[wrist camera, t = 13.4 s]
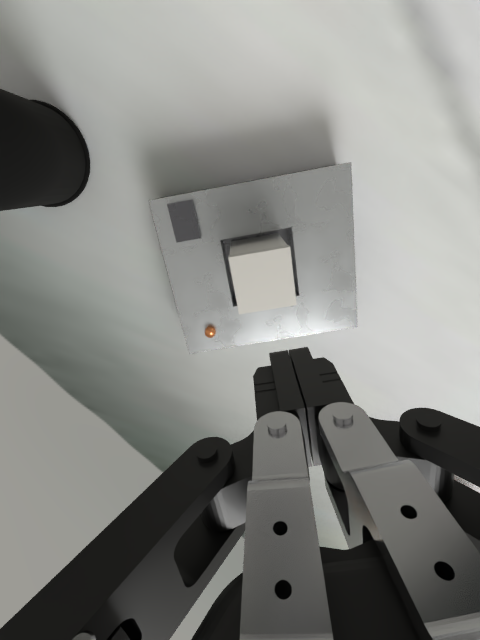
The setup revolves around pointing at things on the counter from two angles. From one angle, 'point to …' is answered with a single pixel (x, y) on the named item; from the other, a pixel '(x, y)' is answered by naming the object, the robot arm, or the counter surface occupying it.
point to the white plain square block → (262, 273)
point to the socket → (253, 221)
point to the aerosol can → (39, 155)
